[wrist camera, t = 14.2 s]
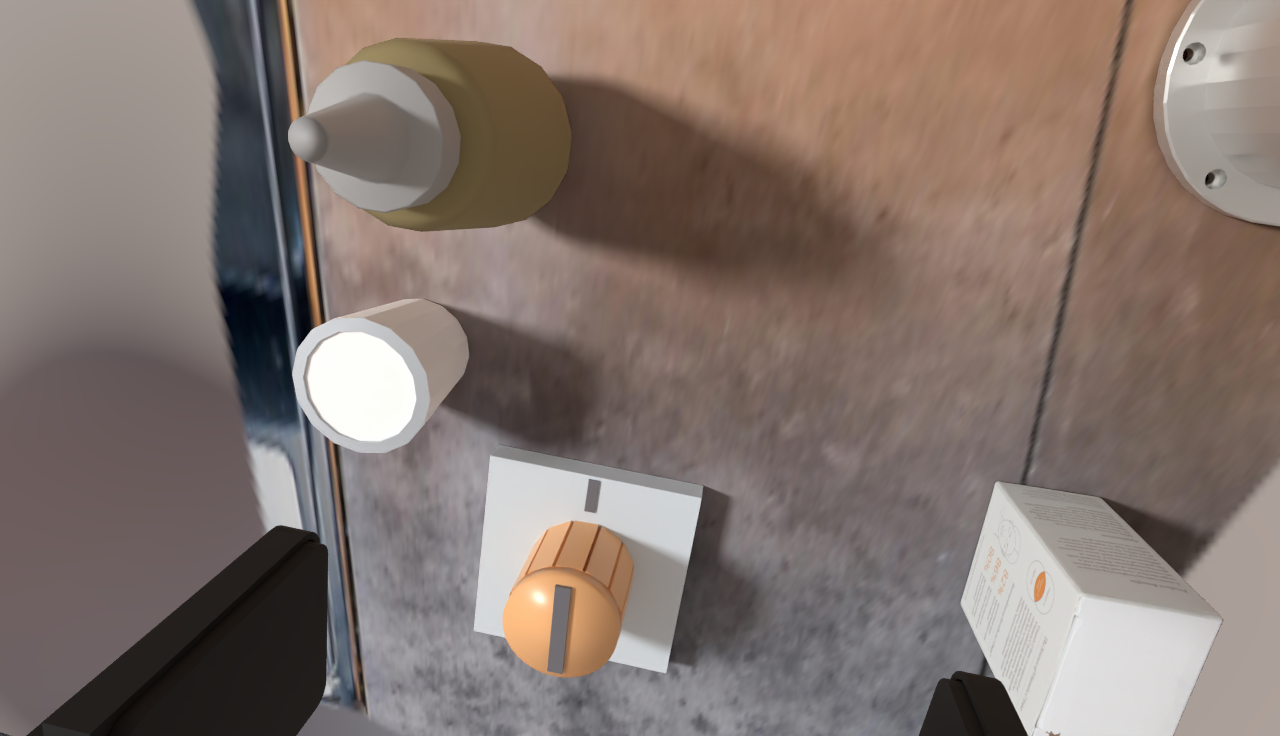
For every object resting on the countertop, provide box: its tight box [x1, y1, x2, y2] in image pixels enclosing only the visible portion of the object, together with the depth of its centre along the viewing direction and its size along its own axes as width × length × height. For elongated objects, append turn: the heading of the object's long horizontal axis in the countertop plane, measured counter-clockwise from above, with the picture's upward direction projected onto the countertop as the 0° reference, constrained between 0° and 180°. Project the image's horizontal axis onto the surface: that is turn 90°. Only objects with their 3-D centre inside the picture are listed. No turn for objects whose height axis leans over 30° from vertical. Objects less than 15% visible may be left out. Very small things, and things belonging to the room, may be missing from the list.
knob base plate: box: [474, 445, 703, 673], centre depth 41 cm, size 12×12×6 cm
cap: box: [502, 520, 634, 677], centre depth 39 cm, size 6×6×6 cm
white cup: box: [292, 299, 469, 453], centre depth 37 cm, size 7×7×7 cm
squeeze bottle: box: [288, 38, 572, 232], centre depth 28 cm, size 8×8×18 cm
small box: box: [961, 481, 1223, 736], centre depth 35 cm, size 8×6×10 cm
